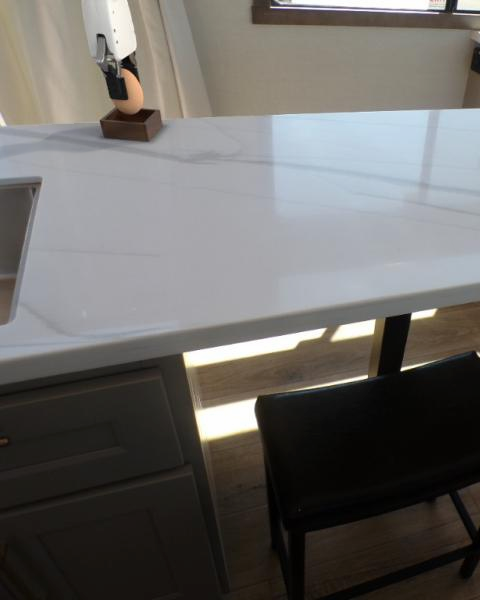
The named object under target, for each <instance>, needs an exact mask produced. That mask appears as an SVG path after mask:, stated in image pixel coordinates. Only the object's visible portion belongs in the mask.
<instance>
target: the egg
mask: <svg viewBox="0 0 480 600" xmlns="http://www.w3.org/2000/svg"><path fill="white" fill-rule="evenodd" d="M121 73H122V77H124V78H125V83H126V88H127V92H128V97H129V99H128V100H114V99H111V98H110V100H111V102H112V103H113V105H114V106H115V107H117V108H118V109H119V110H120V111H122V112H123V113H125V114H135V113H137V112H138V111H139V110H140V109H141V108H143V105H144V92H143V88H142V85H140V84H141V82H140V83H139V82H138V80H137V79H136V77H135V76H134V75H133V74H132V73H131V72H130V71H128V70H126V69H123V68H121Z"/></svg>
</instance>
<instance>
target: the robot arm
mask: <svg viewBox="0 0 480 600" xmlns="http://www.w3.org/2000/svg"><path fill="white" fill-rule="evenodd" d="M80 4H81V12H82V19H83V25H84V30H85V35H86V40H87V41H86V42H87V46H88V50H89V54H90V57H91V58H92V59H94V60H95V63H96V65H97V66H98V67H99V69H100V70H101V72H102V75H103V77H104V79H105V82H106V83H105V84H106V87H107V91H108V97H109V99H110V100H111V99H114V100H128V99H129V97H128V92H127V88H126V83H125V78H124V77H122V73H121V68H123V69H126V70H128V71H130V72H131V73H132V74H133V75H134V76H135V77H136V79H137V80H138V82H139V83H140V85H141V80H140V75H139V69H138V61H137V58H136V55H137V52H136V49H137V48H138V42H137V36H136V31H135V26H134V21H133V18H132V13H131V9H130V6H129V2H128V0H80ZM108 56H113V58H112V57H108ZM113 64H114V65H113ZM141 86H142V85H141Z"/></svg>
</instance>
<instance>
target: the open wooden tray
mask: <svg viewBox="0 0 480 600" xmlns="http://www.w3.org/2000/svg"><path fill="white" fill-rule="evenodd" d="M99 124H100V129H101V133H102V137H103V138H104V139H112V140H113V139H114V140H124V141H135V142H136V141H137V142H147V143H148V142H150V141H151V140H152V139H153V138H154V137H155V136H156V135H157V133H159V132H160V130H161V129H162V128H163V127H164V125H163V120H162V114H161V109H155V108H147V107H146V108H145V107H141V109H140V110H139V111H138V112H137V113H135V114H125V113H123V112H122V111H120V110H119V109H118V108H117V107H116V106H115V107H114V108H112V109H110V111H109V112H108V113H107V114H105V115H104V116H102V118H100V119H99Z"/></svg>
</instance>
